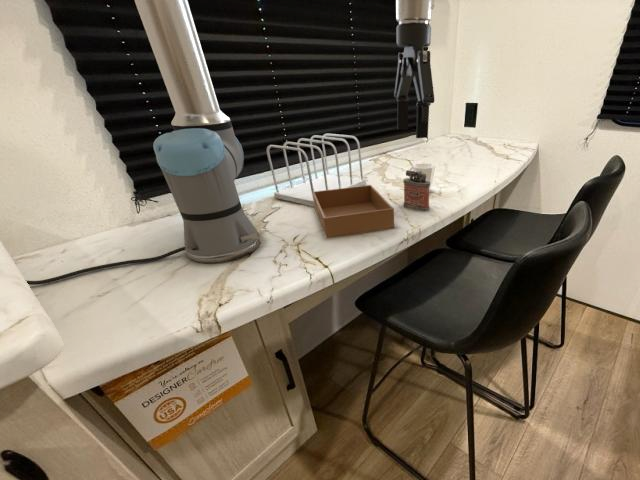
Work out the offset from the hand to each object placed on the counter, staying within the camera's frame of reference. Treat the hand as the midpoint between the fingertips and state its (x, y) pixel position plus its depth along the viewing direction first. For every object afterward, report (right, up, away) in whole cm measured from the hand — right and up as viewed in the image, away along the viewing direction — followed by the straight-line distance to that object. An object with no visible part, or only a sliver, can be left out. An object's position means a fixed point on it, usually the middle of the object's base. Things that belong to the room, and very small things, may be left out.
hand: (411, 133), depth 82 cm
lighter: (+2, -16, +11) cm, 19 cm away
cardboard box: (-16, -20, +5) cm, 26 cm away
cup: (+4, -7, +24) cm, 25 cm away
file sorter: (-28, -7, +24) cm, 38 cm away
